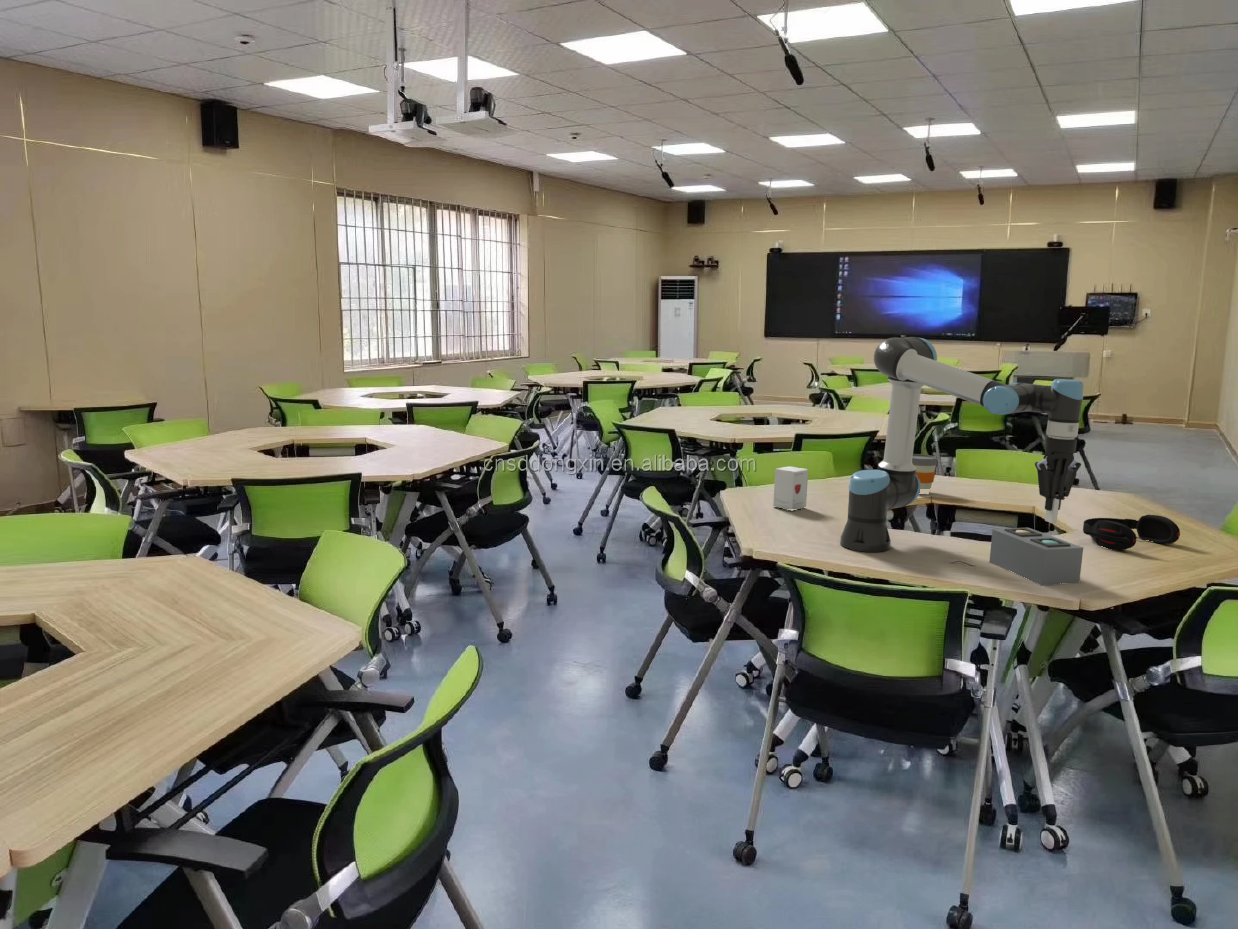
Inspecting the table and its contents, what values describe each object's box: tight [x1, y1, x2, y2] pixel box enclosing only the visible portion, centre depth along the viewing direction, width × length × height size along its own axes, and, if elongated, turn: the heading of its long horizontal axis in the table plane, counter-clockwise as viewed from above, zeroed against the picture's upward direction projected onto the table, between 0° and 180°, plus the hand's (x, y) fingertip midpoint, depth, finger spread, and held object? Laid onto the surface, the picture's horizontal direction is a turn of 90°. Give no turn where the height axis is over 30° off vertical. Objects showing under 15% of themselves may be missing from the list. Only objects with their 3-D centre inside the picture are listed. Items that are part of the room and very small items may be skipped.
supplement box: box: [772, 466, 809, 509], centre depth 315 cm, size 9×9×15 cm
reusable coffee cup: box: [912, 453, 938, 489], centre depth 346 cm, size 13×13×15 cm
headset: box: [1082, 514, 1181, 551], centre depth 271 cm, size 28×26×9 cm
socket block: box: [988, 527, 1084, 586], centre depth 240 cm, size 22×12×10 cm, turn 13°
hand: (1050, 521), depth 233 cm, fingers closed
